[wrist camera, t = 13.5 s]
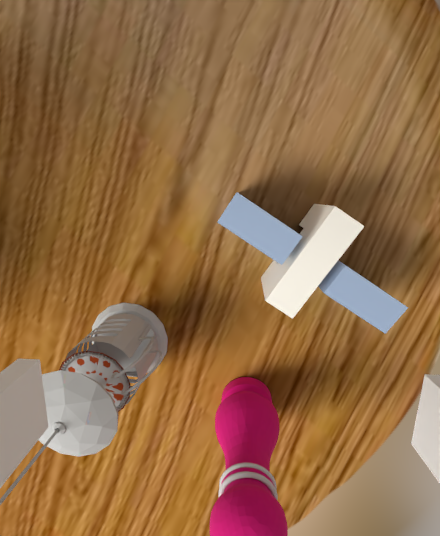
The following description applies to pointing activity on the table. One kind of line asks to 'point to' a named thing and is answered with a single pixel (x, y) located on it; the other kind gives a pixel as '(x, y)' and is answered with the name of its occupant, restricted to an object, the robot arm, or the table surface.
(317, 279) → the white notched block
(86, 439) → the french press
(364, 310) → the blue batten
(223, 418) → the pepper mill
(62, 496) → the table surface
